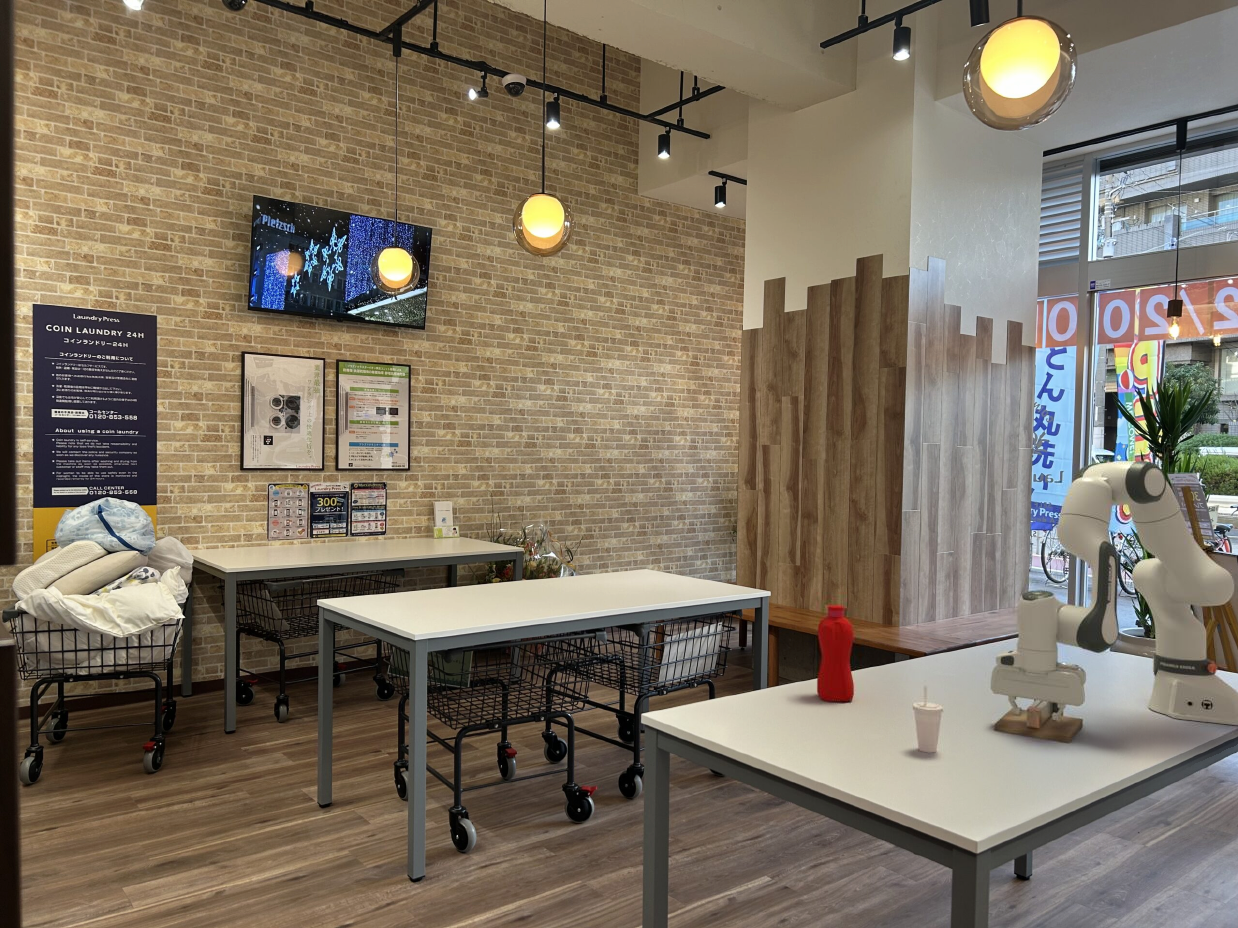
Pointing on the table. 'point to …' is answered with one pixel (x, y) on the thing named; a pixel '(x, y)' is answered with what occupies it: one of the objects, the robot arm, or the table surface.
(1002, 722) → the walnut board
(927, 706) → the smoothie
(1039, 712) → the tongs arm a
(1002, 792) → the table surface
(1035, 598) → the robot arm
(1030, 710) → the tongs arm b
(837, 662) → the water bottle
